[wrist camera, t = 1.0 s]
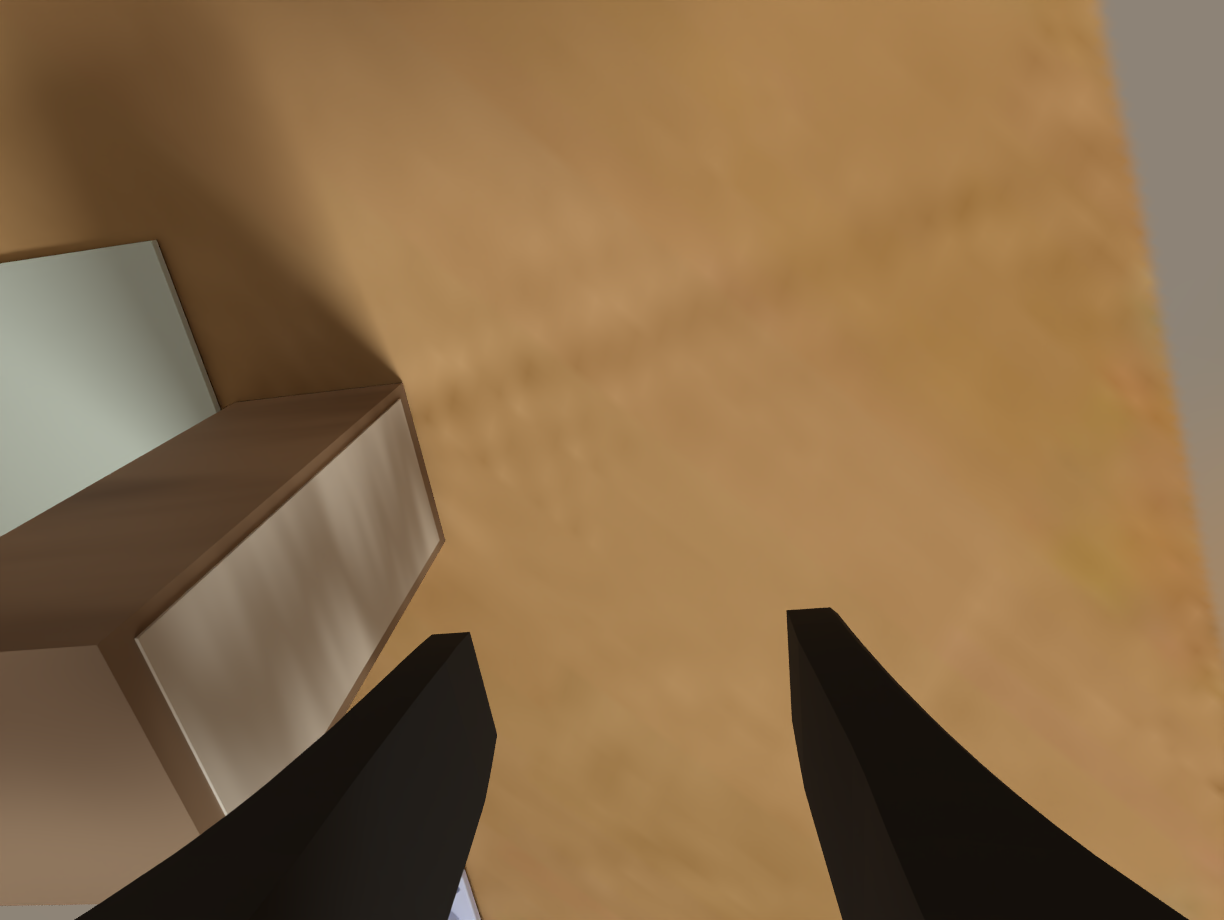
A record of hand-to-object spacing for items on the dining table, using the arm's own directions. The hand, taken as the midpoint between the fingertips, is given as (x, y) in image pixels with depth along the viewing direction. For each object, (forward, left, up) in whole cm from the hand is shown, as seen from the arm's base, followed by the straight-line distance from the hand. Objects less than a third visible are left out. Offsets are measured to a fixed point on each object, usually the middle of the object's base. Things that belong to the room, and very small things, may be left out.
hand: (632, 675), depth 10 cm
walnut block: (0, +9, -9) cm, 13 cm away
